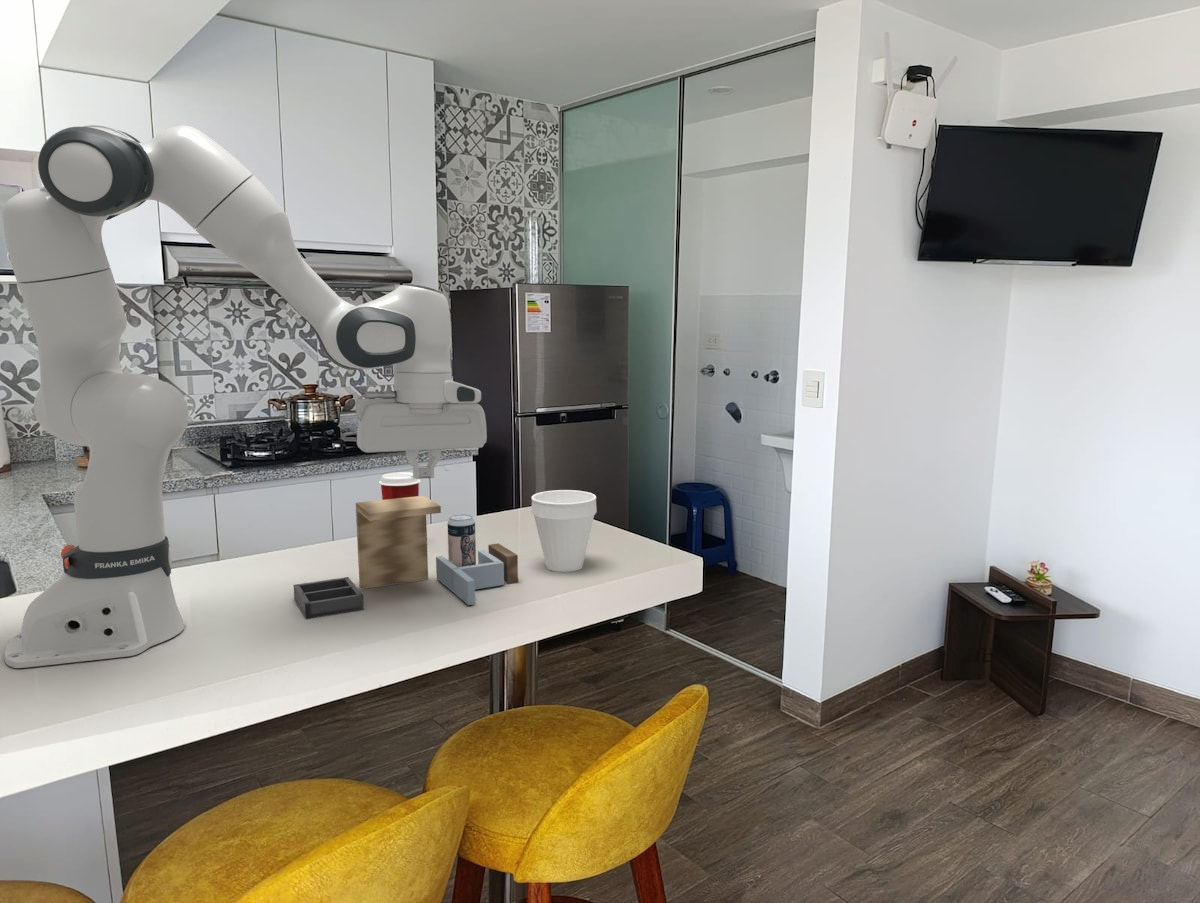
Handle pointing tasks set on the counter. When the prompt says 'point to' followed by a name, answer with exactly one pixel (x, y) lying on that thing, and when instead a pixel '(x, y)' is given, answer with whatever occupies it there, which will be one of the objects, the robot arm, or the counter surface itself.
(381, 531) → the tunnel
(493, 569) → the blue grey drawer
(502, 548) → the end stop
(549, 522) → the cup
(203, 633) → the counter surface
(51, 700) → the counter surface
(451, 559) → the beer can
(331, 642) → the counter surface
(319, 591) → the tray
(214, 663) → the counter surface
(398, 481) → the coffee cup
